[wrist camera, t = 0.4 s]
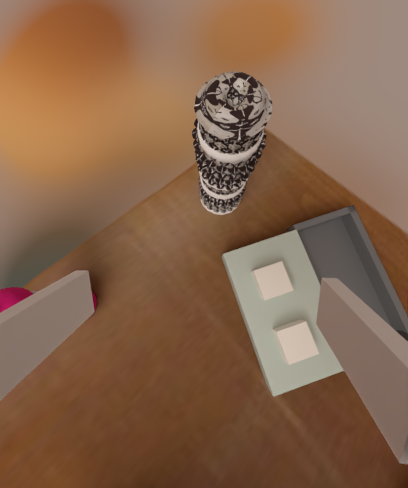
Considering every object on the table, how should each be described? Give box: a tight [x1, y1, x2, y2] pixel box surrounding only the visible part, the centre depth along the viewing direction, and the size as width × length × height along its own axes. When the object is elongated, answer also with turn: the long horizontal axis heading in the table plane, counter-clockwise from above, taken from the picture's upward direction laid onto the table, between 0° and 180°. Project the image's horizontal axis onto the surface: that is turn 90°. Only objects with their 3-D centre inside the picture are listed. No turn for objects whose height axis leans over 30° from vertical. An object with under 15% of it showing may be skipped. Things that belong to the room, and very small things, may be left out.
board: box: [222, 229, 344, 397], centre depth 41 cm, size 24×14×4 cm, turn 18°
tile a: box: [272, 319, 319, 365], centre depth 37 cm, size 5×5×2 cm
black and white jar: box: [192, 71, 272, 215], centre depth 35 cm, size 9×9×25 cm
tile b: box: [251, 261, 294, 301], centre depth 39 cm, size 5×5×2 cm
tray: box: [287, 205, 408, 334], centre depth 42 cm, size 26×12×4 cm, turn 19°
